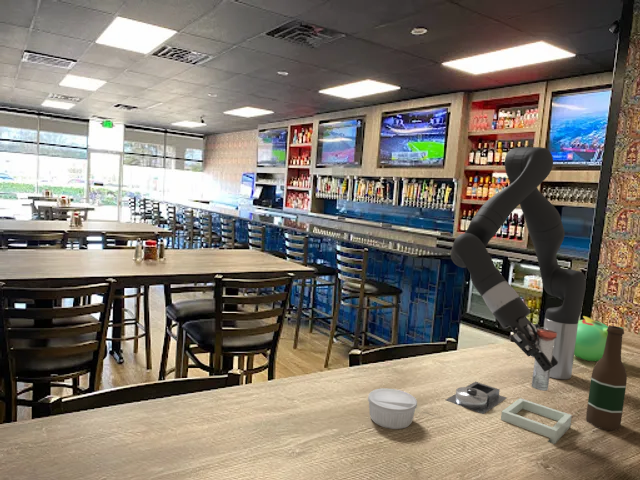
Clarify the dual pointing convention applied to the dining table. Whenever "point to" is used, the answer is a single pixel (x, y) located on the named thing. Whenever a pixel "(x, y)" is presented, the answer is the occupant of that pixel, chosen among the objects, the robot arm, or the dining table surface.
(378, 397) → the ramekin
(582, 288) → the robot arm
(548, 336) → the lock pin
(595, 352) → the green rounded piece
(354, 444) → the dining table surface
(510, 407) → the rectangular frame
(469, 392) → the grey piece
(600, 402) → the beer bottle
